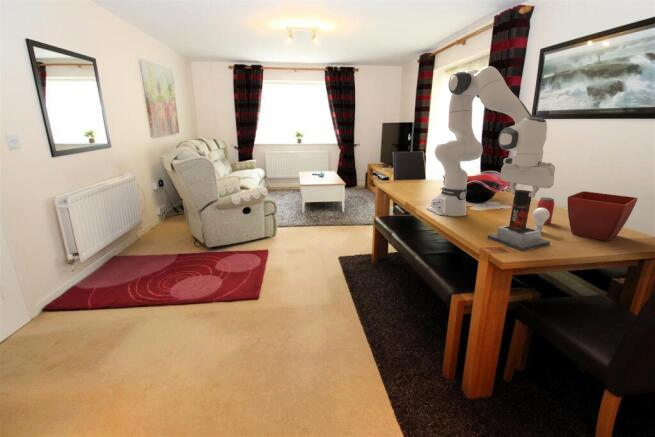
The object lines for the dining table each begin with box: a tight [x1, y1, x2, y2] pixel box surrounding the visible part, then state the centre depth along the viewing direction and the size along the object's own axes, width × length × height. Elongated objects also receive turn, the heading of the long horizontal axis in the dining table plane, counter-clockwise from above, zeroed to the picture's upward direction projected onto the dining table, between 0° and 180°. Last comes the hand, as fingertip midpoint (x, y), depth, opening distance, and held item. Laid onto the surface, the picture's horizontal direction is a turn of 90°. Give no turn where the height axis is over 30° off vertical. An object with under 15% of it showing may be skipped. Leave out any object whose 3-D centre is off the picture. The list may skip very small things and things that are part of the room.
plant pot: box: [567, 190, 639, 242], centre depth 136 cm, size 19×19×17 cm
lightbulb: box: [532, 207, 550, 232], centre depth 142 cm, size 6×6×11 cm
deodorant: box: [508, 189, 533, 229], centre depth 129 cm, size 6×6×15 cm
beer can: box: [536, 196, 555, 225], centre depth 155 cm, size 7×7×12 cm
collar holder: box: [486, 224, 551, 252], centre depth 131 cm, size 16×16×6 cm
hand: (522, 195), depth 127 cm, fingers closed on deodorant, 6 cm apart
